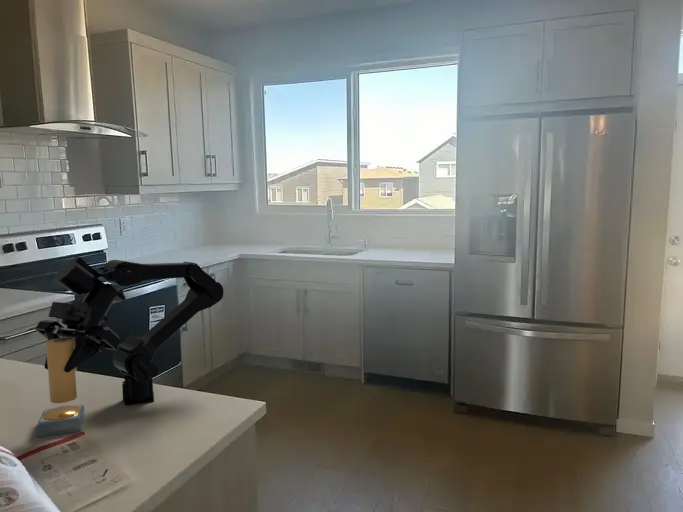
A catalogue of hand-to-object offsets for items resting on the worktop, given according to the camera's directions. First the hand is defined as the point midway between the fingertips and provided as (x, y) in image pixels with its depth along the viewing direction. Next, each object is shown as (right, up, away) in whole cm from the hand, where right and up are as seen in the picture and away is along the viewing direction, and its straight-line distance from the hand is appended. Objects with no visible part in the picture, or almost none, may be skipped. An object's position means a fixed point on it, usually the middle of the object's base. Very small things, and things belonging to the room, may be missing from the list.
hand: (56, 370), depth 107 cm
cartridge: (0, -6, +2) cm, 7 cm away
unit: (-1, -13, +4) cm, 14 cm away
